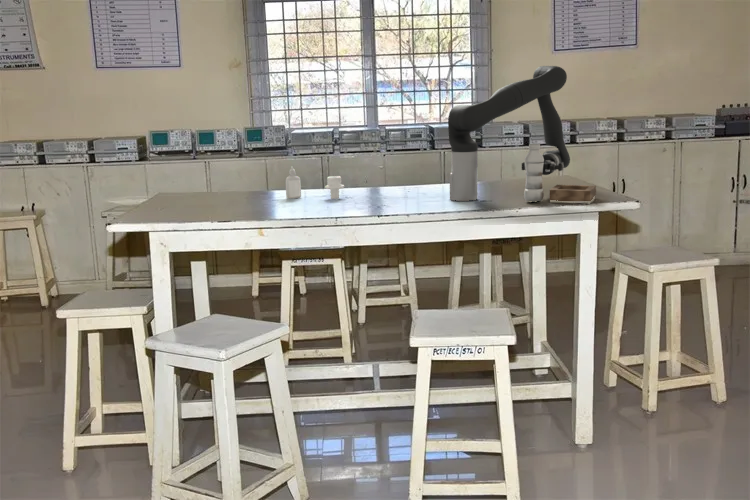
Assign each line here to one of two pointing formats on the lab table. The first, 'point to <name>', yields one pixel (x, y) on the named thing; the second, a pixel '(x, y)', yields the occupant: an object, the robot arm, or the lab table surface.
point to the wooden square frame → (572, 193)
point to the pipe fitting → (334, 186)
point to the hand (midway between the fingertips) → (538, 168)
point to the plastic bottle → (534, 174)
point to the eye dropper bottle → (293, 185)
